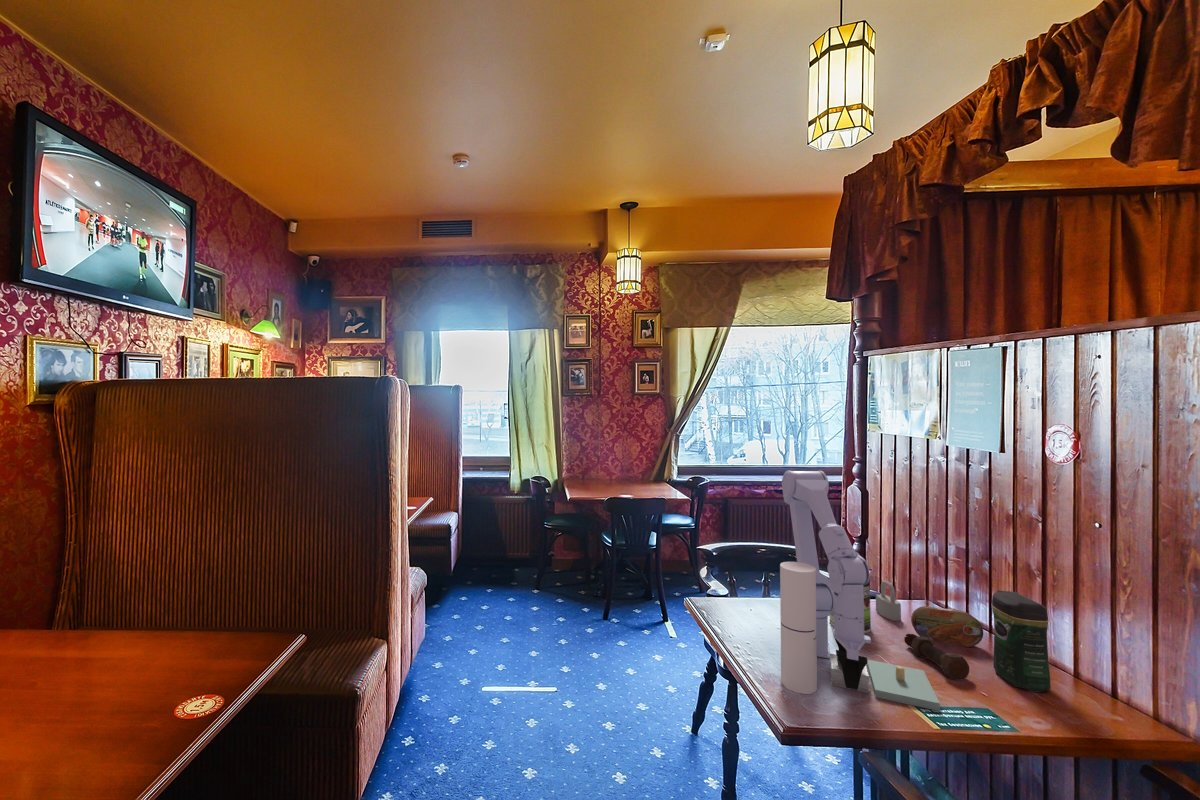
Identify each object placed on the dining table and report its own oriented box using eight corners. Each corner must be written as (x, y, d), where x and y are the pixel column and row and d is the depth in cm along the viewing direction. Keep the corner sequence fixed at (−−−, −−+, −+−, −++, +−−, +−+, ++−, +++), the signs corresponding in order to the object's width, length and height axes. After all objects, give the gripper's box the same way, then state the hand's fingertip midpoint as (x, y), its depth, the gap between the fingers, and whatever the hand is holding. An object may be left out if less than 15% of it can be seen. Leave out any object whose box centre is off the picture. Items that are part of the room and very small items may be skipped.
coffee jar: (1059, 696, 95) (1056, 605, 96) (1015, 691, 96) (1012, 602, 97) (1026, 671, 104) (1023, 589, 105) (986, 667, 106) (984, 586, 107)
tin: (913, 639, 119) (912, 606, 120) (910, 633, 122) (909, 602, 123) (984, 650, 114) (983, 616, 114) (979, 644, 117) (978, 611, 117)
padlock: (873, 610, 137) (873, 577, 137) (886, 610, 137) (886, 577, 137) (889, 621, 130) (888, 585, 130) (903, 621, 130) (902, 585, 130)
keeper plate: (875, 697, 94) (875, 677, 94) (866, 666, 106) (866, 648, 106) (940, 711, 89) (939, 690, 90) (923, 677, 101) (923, 658, 101)
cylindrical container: (773, 678, 100) (773, 563, 101) (797, 671, 103) (796, 560, 104) (799, 697, 94) (798, 573, 95) (824, 689, 96) (823, 569, 98)
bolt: (913, 654, 115) (962, 686, 100) (895, 644, 115) (942, 675, 100) (923, 633, 116) (973, 662, 101) (905, 623, 116) (954, 651, 101)
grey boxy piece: (831, 685, 98) (831, 668, 98) (829, 668, 104) (829, 653, 104) (869, 693, 95) (868, 676, 95) (864, 676, 102) (864, 660, 102)
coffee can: (879, 628, 125) (878, 576, 126) (857, 637, 120) (856, 583, 120) (843, 614, 134) (842, 566, 135) (821, 622, 129) (820, 571, 129)
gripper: (875, 631, 90) (876, 702, 89) (865, 604, 103) (866, 666, 102) (835, 624, 92) (836, 693, 92) (830, 599, 106) (831, 659, 105)
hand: (849, 678), depth 97 cm, fingers open, 7 cm apart
